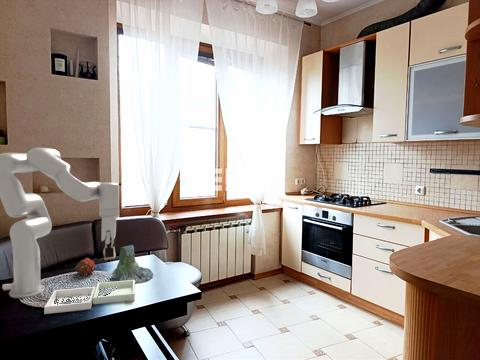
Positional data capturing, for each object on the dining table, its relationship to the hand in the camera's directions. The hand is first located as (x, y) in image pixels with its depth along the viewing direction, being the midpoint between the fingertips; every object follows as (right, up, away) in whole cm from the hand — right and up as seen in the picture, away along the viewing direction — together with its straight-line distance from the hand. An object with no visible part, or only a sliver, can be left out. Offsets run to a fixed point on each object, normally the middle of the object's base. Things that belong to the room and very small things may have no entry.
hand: (110, 254), depth 133 cm
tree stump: (+1, -17, +24) cm, 29 cm away
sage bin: (+1, -18, +3) cm, 18 cm away
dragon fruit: (-23, -16, +26) cm, 38 cm away
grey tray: (-13, -18, -6) cm, 23 cm away
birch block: (0, -1, 0) cm, 1 cm away
